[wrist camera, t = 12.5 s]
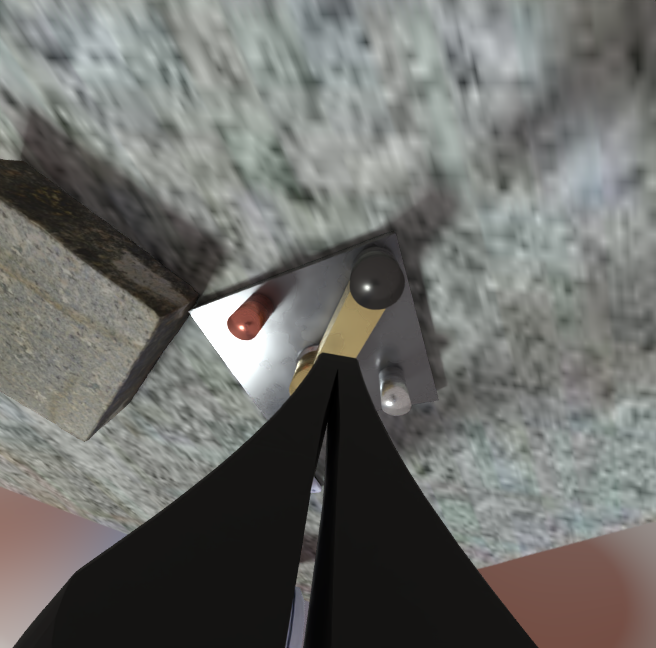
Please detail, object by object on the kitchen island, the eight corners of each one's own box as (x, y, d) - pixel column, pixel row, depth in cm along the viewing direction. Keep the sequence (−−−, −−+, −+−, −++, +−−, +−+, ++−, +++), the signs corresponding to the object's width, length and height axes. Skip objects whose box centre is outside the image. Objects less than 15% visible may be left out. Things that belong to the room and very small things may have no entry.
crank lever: (335, 395, 20) (331, 424, 18) (291, 378, 20) (280, 405, 18) (416, 262, 14) (427, 278, 12) (354, 234, 14) (352, 244, 11)
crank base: (276, 420, 25) (262, 456, 22) (196, 305, 19) (160, 331, 16) (435, 391, 21) (450, 432, 17) (393, 230, 15) (403, 243, 11)
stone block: (207, 290, 19) (160, 321, 15) (130, 403, 28) (86, 444, 23) (28, 150, 16) (-103, 135, 11) (4, 329, 24) (-76, 360, 20)
